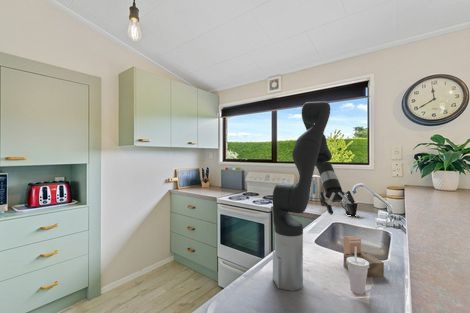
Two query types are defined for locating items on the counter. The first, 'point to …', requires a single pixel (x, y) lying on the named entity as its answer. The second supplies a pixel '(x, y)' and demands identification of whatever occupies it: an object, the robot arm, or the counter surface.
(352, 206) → the coffee mug
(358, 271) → the smoothie
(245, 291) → the counter surface
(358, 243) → the tan rectangular box
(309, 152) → the robot arm
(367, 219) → the counter surface
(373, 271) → the brown rectangular box
